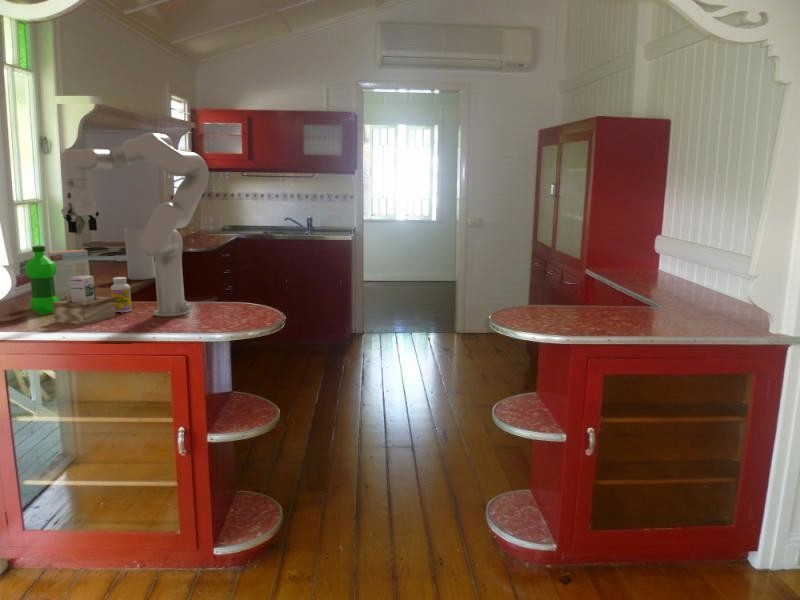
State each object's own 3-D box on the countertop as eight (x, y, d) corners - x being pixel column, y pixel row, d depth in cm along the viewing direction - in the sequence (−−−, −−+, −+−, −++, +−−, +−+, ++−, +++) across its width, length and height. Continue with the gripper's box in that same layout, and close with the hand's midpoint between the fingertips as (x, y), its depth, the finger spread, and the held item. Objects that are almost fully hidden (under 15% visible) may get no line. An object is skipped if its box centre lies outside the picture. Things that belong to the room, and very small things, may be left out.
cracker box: (89, 298, 287) (84, 248, 283) (93, 300, 282) (87, 250, 279) (52, 302, 279) (47, 251, 275) (55, 305, 274) (49, 252, 270)
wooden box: (115, 316, 250) (113, 297, 249) (86, 324, 237) (84, 304, 236) (85, 314, 255) (83, 295, 253) (54, 322, 242) (52, 302, 240)
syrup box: (87, 318, 242) (83, 277, 240) (73, 317, 244) (68, 277, 241) (98, 315, 248) (94, 275, 245) (84, 314, 249) (80, 275, 246)
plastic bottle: (46, 309, 265) (39, 244, 261) (67, 311, 261) (60, 245, 257) (24, 314, 256) (16, 247, 251) (44, 316, 252) (37, 248, 247)
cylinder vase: (159, 278, 341) (155, 227, 336) (134, 281, 333) (129, 229, 328) (149, 275, 350) (145, 226, 345) (124, 278, 342) (120, 228, 337)
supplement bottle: (111, 314, 255) (108, 279, 252) (114, 310, 261) (110, 277, 259) (130, 312, 256) (127, 278, 254) (132, 309, 263) (129, 276, 260)
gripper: (67, 184, 241) (72, 233, 244) (104, 183, 257) (108, 229, 260) (51, 185, 243) (56, 233, 246) (88, 183, 259) (92, 229, 262)
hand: (83, 231), depth 253 cm, fingers open, 9 cm apart
